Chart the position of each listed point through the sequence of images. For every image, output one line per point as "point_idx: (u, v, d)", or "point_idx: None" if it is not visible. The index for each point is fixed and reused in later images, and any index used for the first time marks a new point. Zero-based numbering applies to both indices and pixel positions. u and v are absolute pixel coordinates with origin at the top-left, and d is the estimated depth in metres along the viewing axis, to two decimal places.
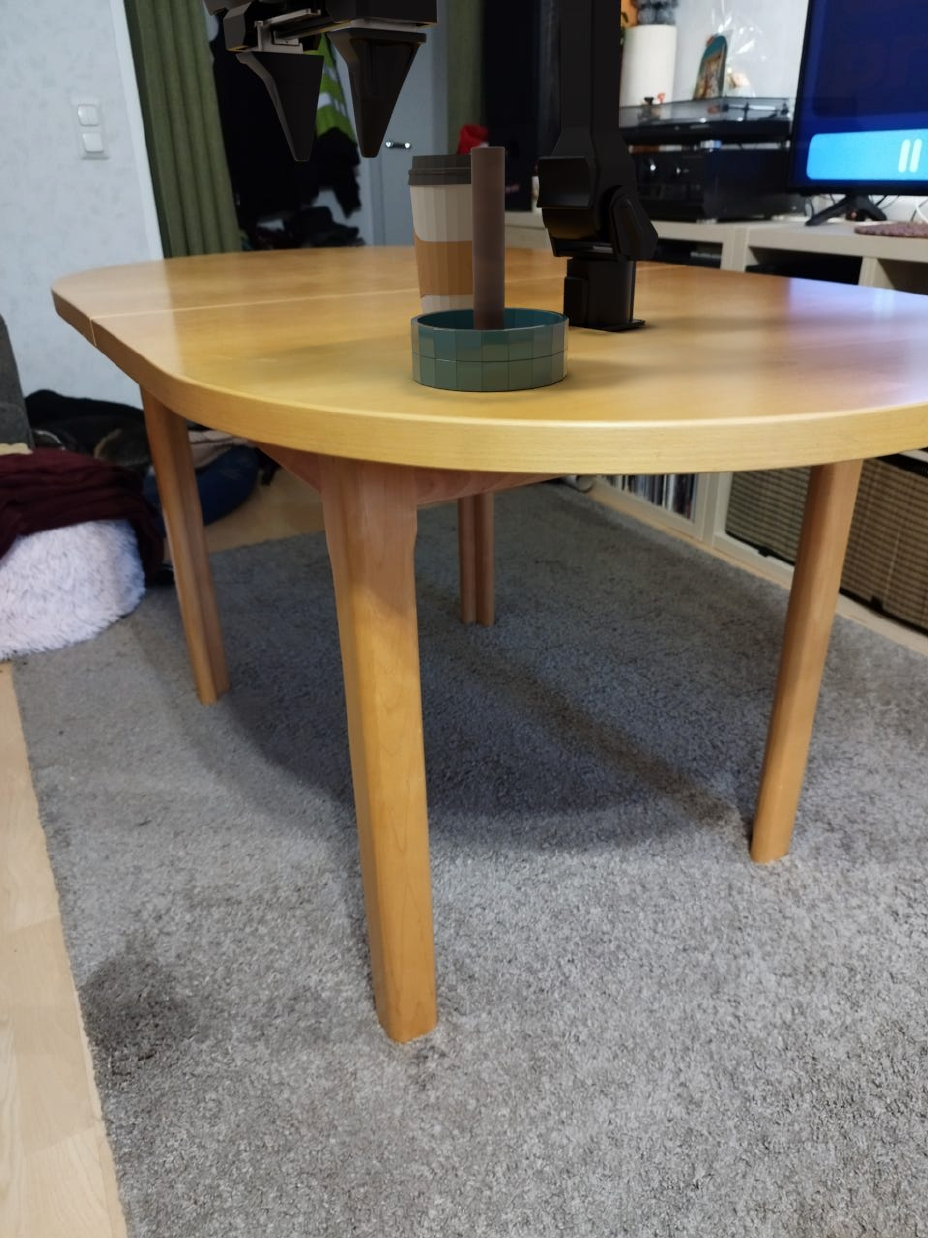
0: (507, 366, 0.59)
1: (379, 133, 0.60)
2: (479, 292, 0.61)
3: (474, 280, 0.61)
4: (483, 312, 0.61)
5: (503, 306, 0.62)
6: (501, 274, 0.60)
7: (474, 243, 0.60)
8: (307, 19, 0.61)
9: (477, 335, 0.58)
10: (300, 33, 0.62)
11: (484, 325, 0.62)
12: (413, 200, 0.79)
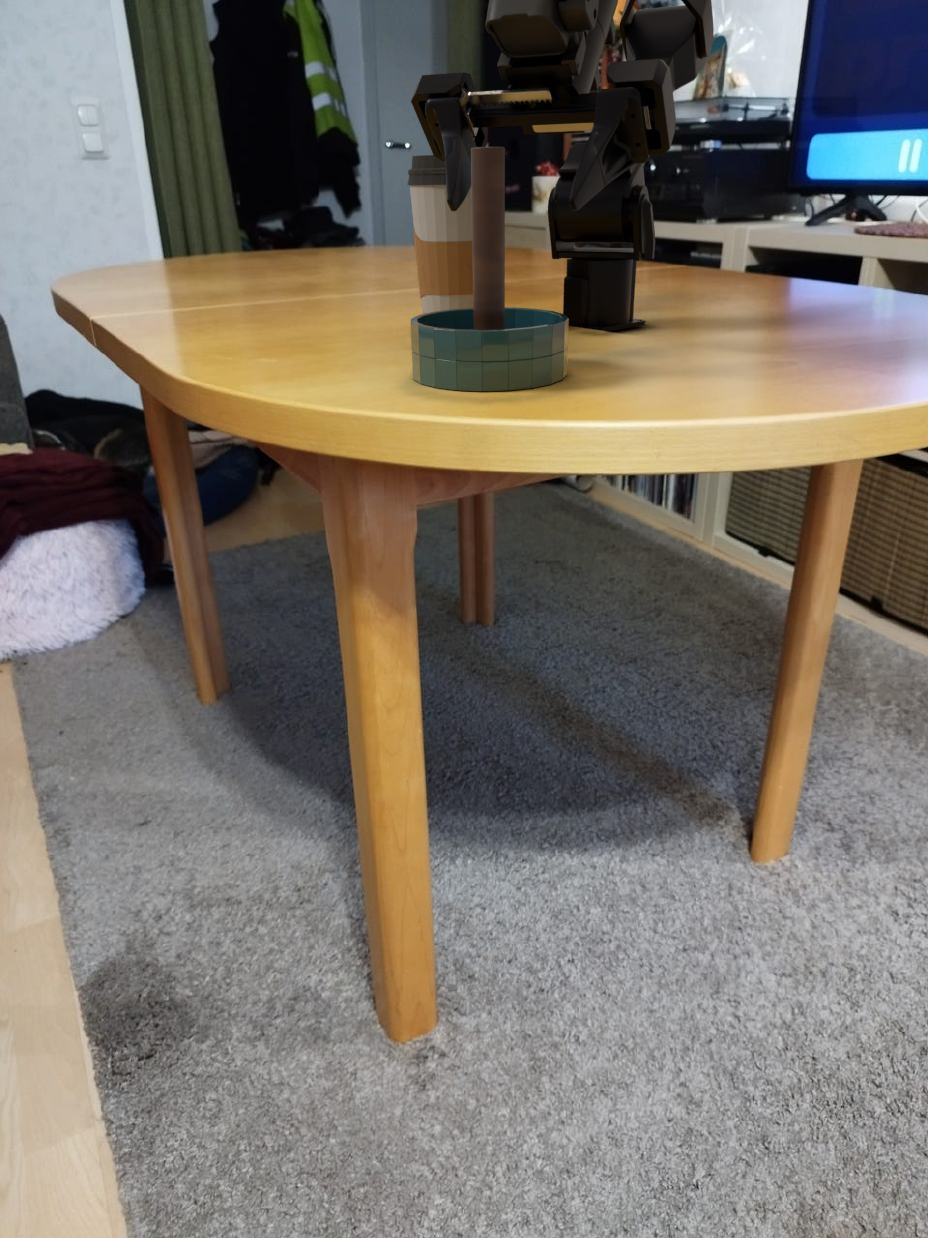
0: (507, 366, 0.59)
1: (588, 195, 0.61)
2: (479, 292, 0.61)
3: (474, 280, 0.61)
4: (483, 312, 0.61)
5: (503, 306, 0.62)
6: (501, 274, 0.60)
7: (474, 243, 0.60)
8: None
9: (477, 335, 0.58)
10: (506, 115, 0.65)
11: (484, 325, 0.62)
12: (413, 200, 0.79)
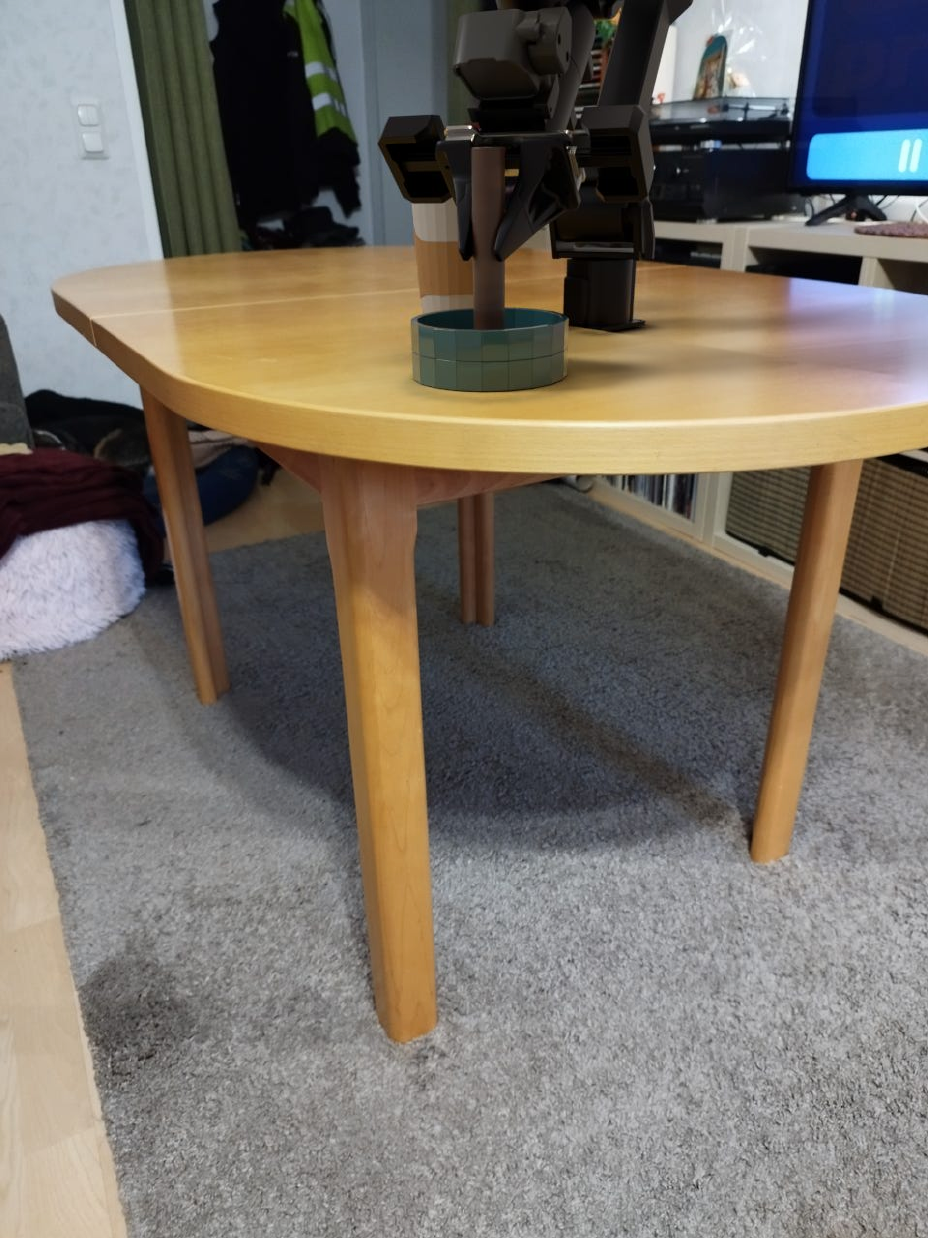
0: (507, 366, 0.59)
1: (514, 245, 0.60)
2: (479, 292, 0.61)
3: (474, 280, 0.61)
4: (483, 312, 0.61)
5: (503, 306, 0.62)
6: (501, 274, 0.60)
7: (474, 243, 0.60)
8: None
9: (477, 335, 0.58)
10: None
11: (484, 324, 0.62)
12: None
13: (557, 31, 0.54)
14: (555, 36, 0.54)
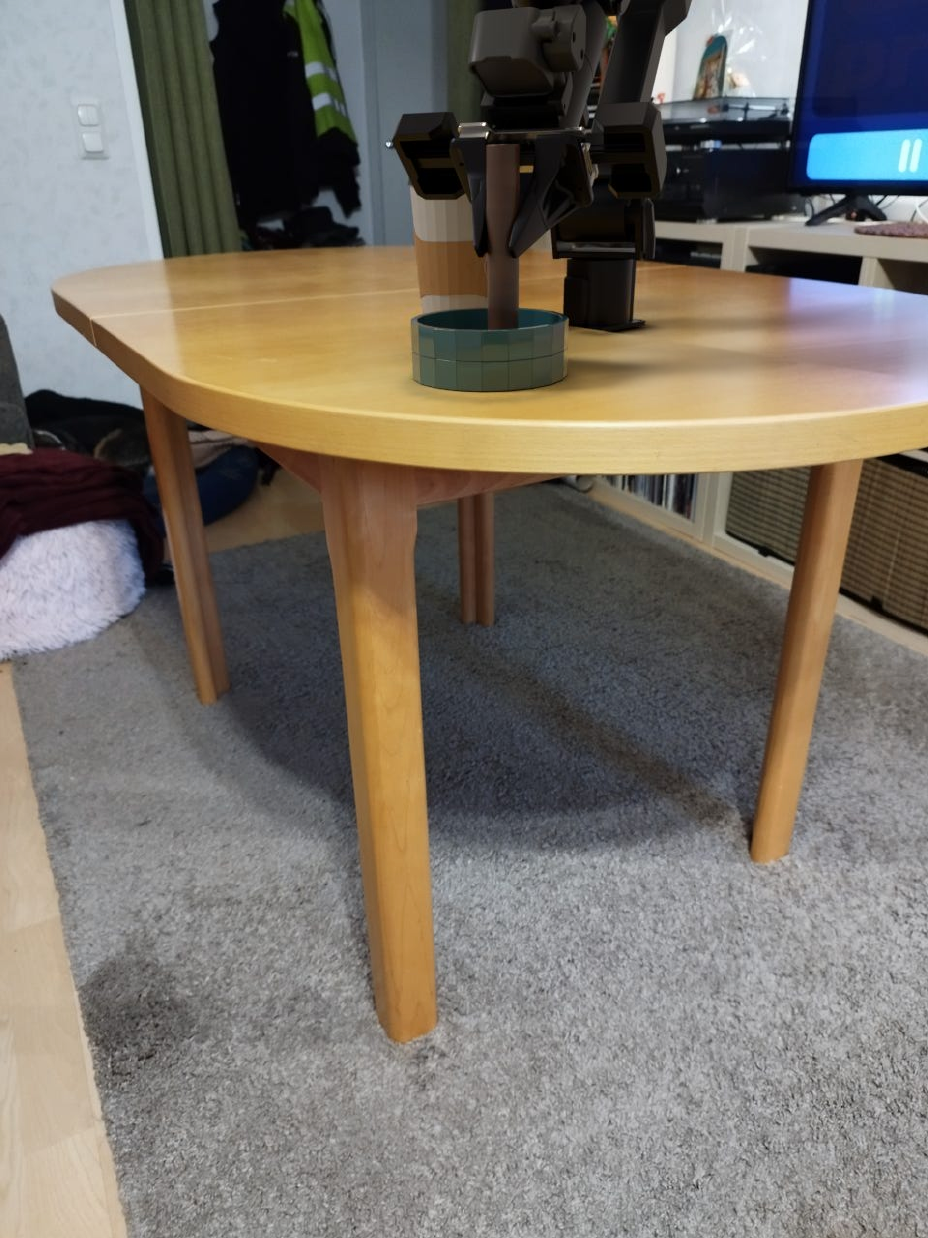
0: (507, 366, 0.59)
1: (528, 241, 0.60)
2: (494, 288, 0.61)
3: (489, 276, 0.61)
4: (497, 308, 0.62)
5: (517, 302, 0.62)
6: (516, 270, 0.61)
7: (489, 240, 0.60)
8: None
9: (477, 335, 0.58)
10: None
11: (498, 320, 0.62)
12: (413, 200, 0.79)
13: (571, 29, 0.55)
14: (570, 34, 0.55)
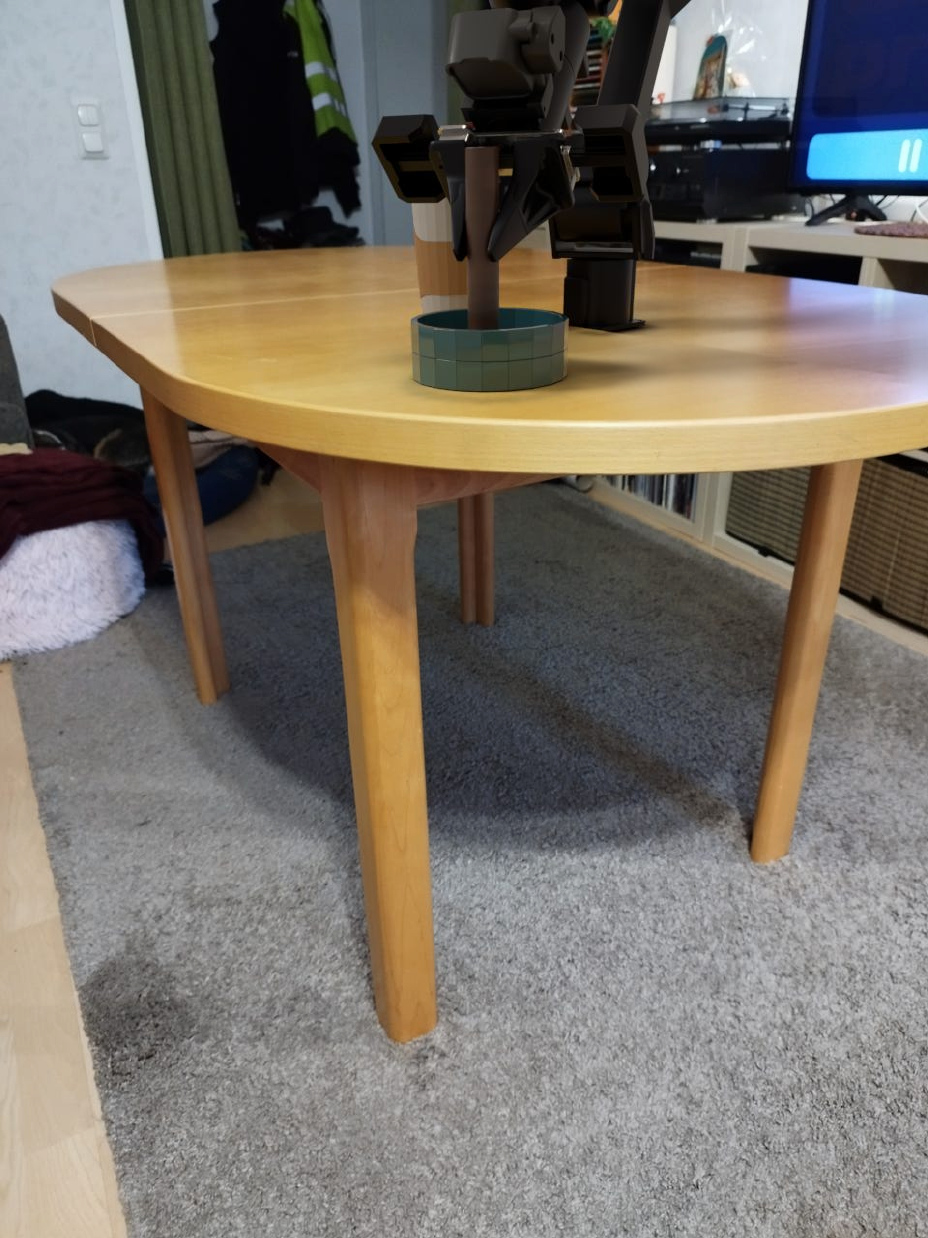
0: (507, 366, 0.59)
1: (508, 245, 0.59)
2: (473, 293, 0.61)
3: (468, 280, 0.61)
4: (477, 312, 0.61)
5: (497, 306, 0.61)
6: (495, 274, 0.60)
7: (468, 243, 0.60)
8: None
9: (477, 335, 0.58)
10: None
11: (478, 325, 0.61)
12: None
13: (550, 30, 0.54)
14: (548, 35, 0.54)
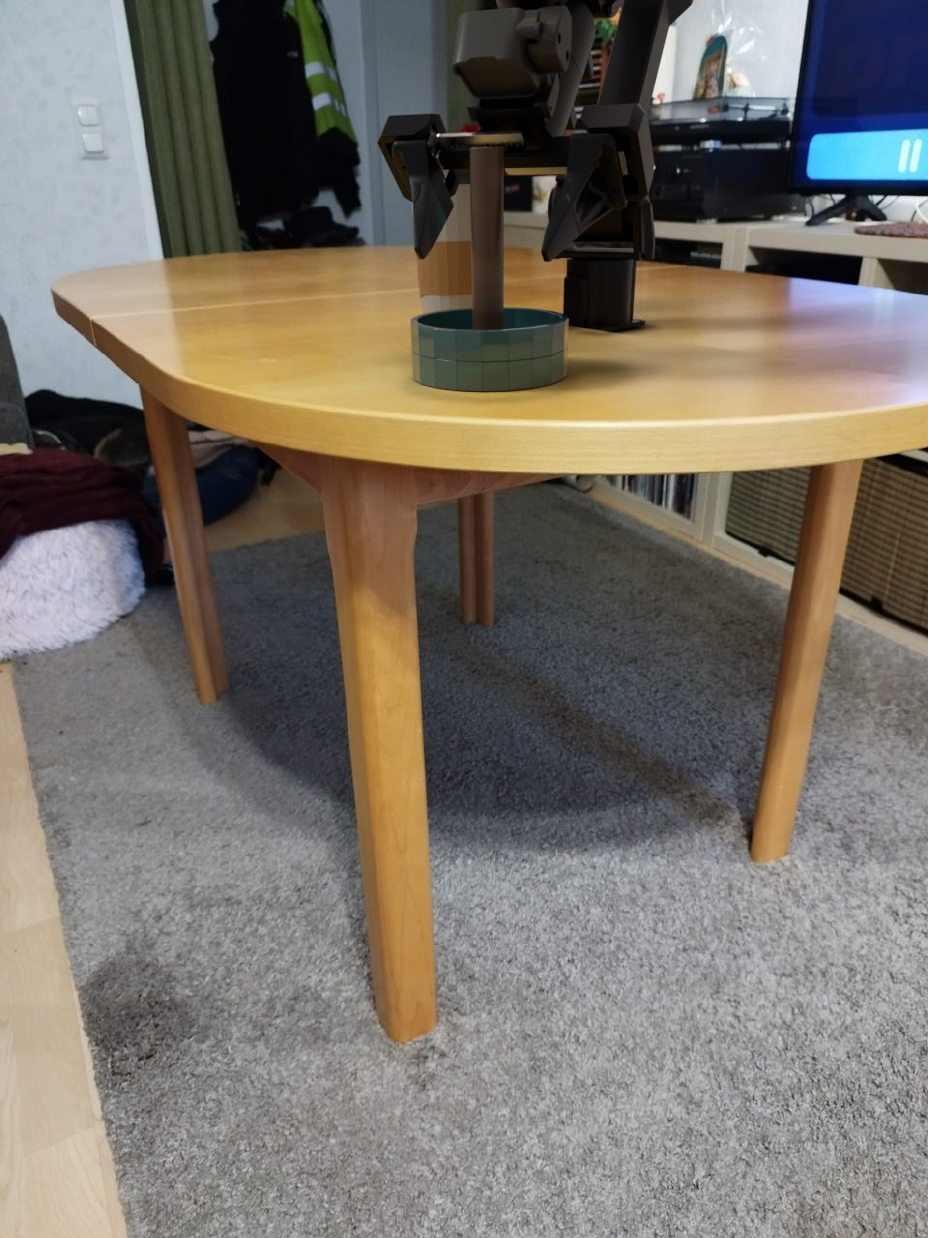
0: (507, 366, 0.59)
1: (561, 245, 0.58)
2: (478, 292, 0.61)
3: (473, 280, 0.61)
4: (482, 312, 0.61)
5: (502, 306, 0.62)
6: (500, 274, 0.60)
7: (473, 243, 0.60)
8: None
9: (477, 335, 0.58)
10: None
11: (482, 325, 0.62)
12: None
13: (557, 30, 0.54)
14: (555, 35, 0.54)
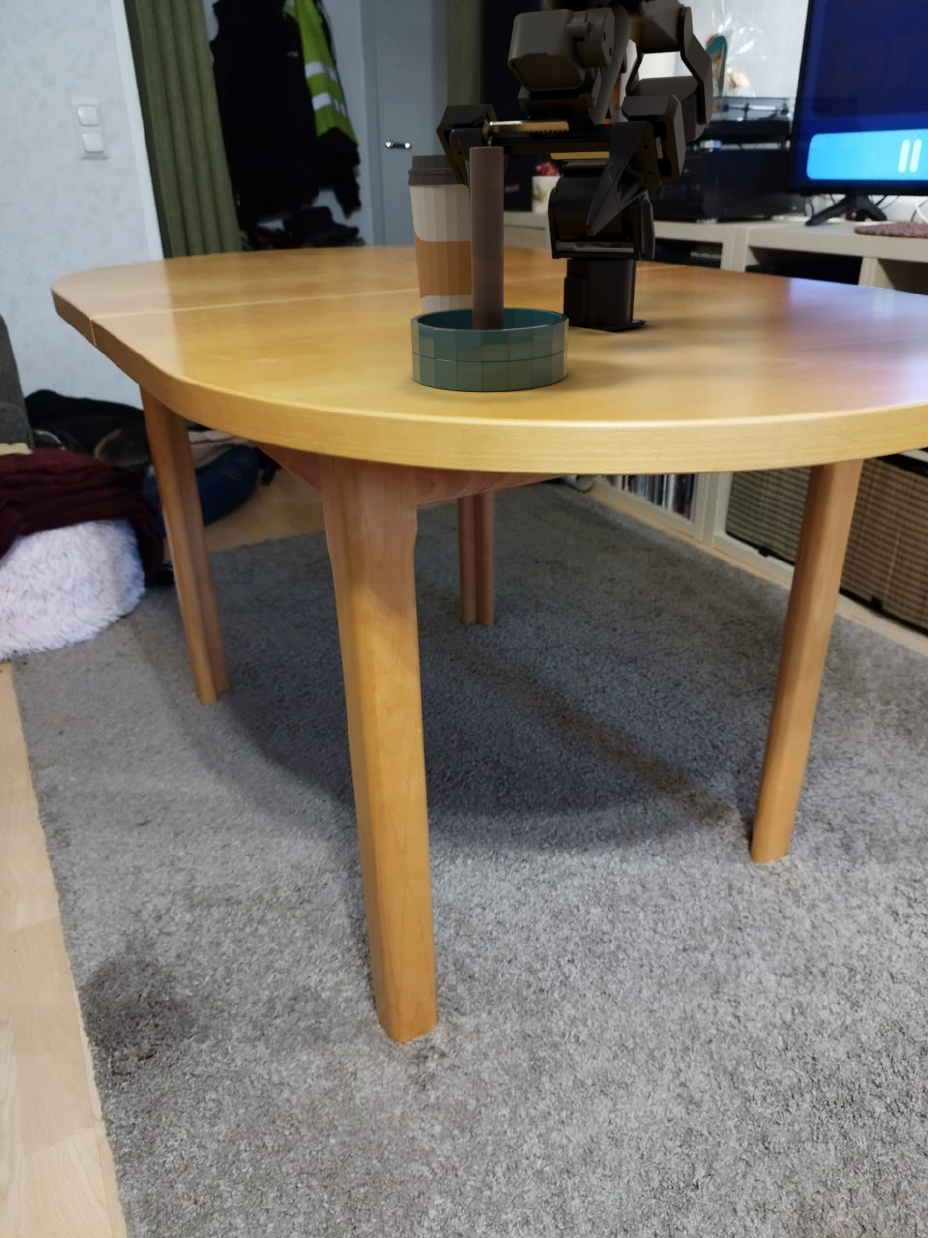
0: (507, 366, 0.59)
1: (603, 220, 0.65)
2: (478, 292, 0.61)
3: (473, 280, 0.61)
4: (482, 312, 0.61)
5: (502, 306, 0.62)
6: (500, 274, 0.60)
7: (473, 243, 0.60)
8: None
9: (477, 335, 0.58)
10: (525, 144, 0.69)
11: (482, 325, 0.62)
12: (413, 200, 0.79)
13: (602, 29, 0.61)
14: (601, 33, 0.61)
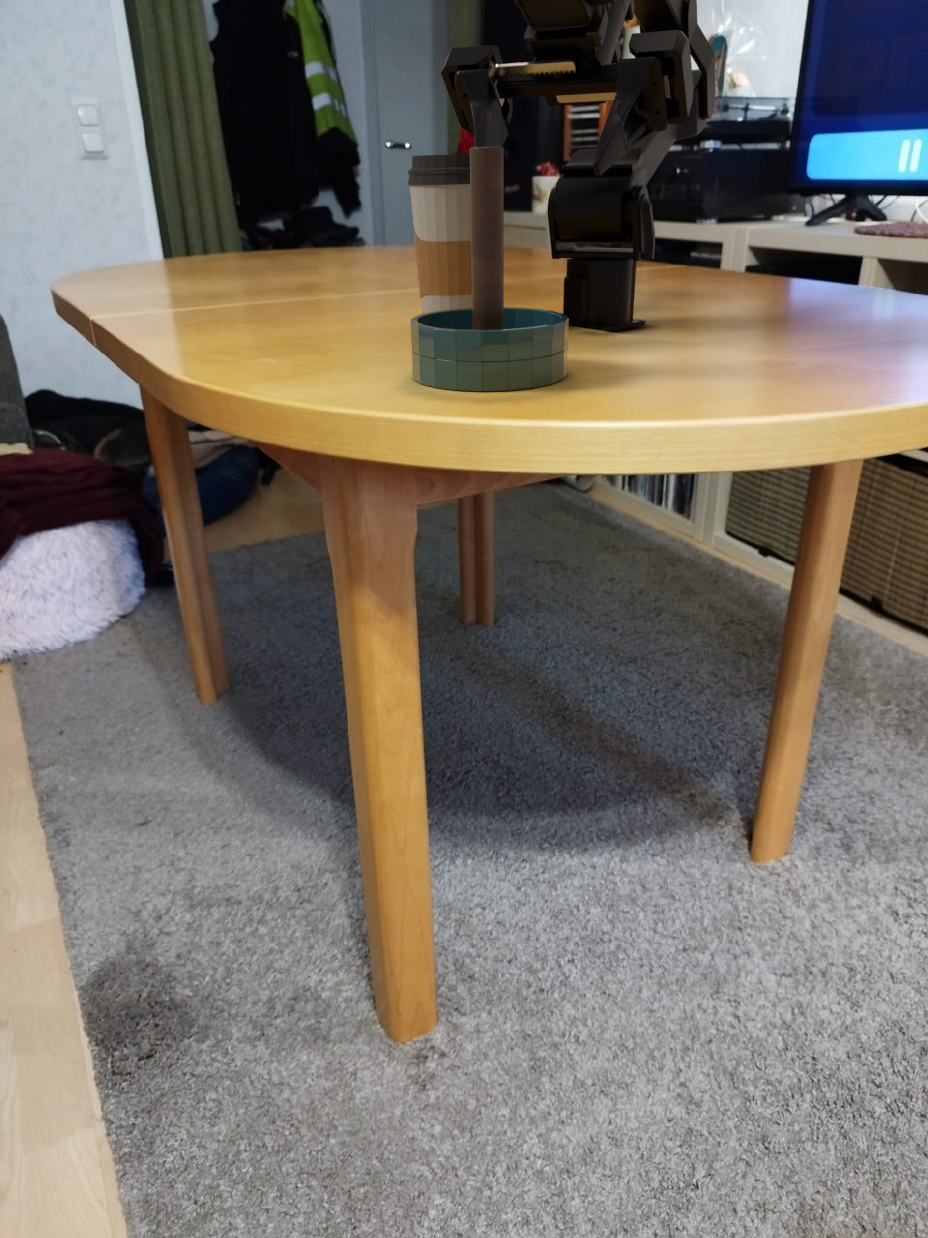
0: (507, 366, 0.59)
1: (610, 160, 0.65)
2: (478, 292, 0.61)
3: (473, 280, 0.61)
4: (482, 312, 0.61)
5: (502, 306, 0.62)
6: (500, 274, 0.60)
7: (473, 243, 0.60)
8: None
9: (477, 335, 0.58)
10: (531, 86, 0.68)
11: (482, 325, 0.62)
12: (413, 200, 0.79)
13: None
14: None
